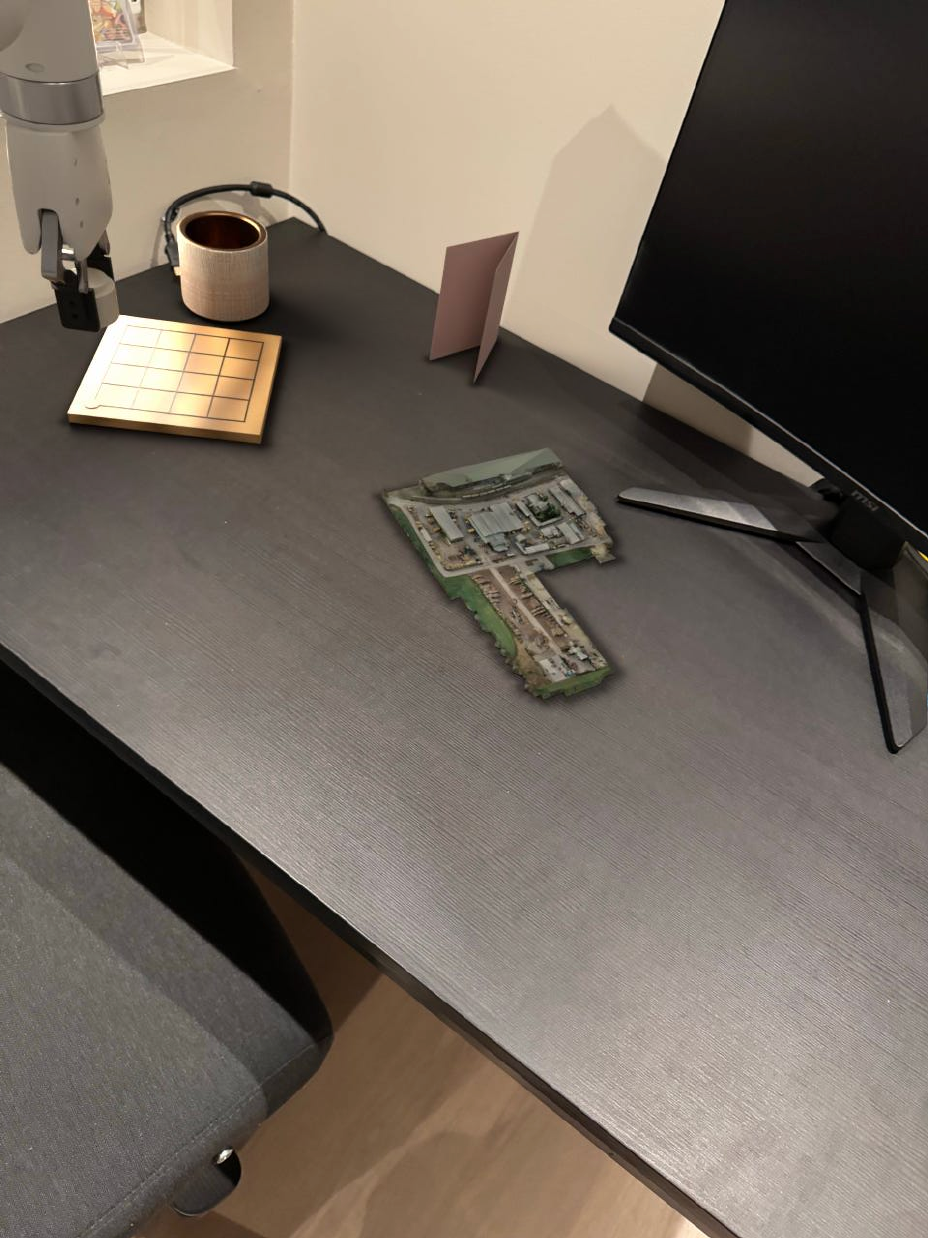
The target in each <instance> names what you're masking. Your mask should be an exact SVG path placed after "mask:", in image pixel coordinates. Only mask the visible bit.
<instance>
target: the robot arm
mask: <svg viewBox="0 0 928 1238" xmlns="http://www.w3.org/2000/svg"><path fill="white" fill-rule="evenodd" d="M98 60H99V59H98V53H97V47H96V40H95V33H94V27H93V20H92V12H91V5H90V0H0V116H1V117H2V118H3V119H4V120H5V121H6V122H5V127H4V128H5V141H6V152H7V163H8V169H9V179H10V183H11V189H12V196H13V200H14V201H13V202H14V205H15V211H16V217H17V223H18V227H19V231H20V237H21V242H22V245H23V248H24V250H25V251H26V253H28V255H31V256H32V255H37V254H38V253H39V252H40V274H41V277H42V278H43V279H45V280H47V281H49V282H50V287H51V289H52V290H53V291H54V296H55V301H56V306H57V309H58V314H59V319H60V324H61V326H62V327H63V328H64V329H68V330H75V331H82V332H88V333H89V332H91V333H98V332H99V331H100V329H101V328H100V321H99V315H98V310H97V304H96V299H95V293H94V288H89V283H88V271H87V267H89V268H95V269H98V270H100V271H102V272H104V273H105V274H106V275H107V276H109V277H110V278H111V279H112V280H113V281H114V283H115V284H116V280H115V273H114V267H113V262H112V257H111V256H110V254H111V243H110V240H109V236H108V233H107V228H108V226H109V223H110V221H111V219H112V216H113V212H114V203H113V194H112V193H113V192H112V184H111V178H110V171H109V165H108V160H107V154H106V149H105V145H104V139H103V135H102V130H101V126H100V125H102V123H104V121H105V120H106V109H105V103H104V96H103V88H102V82H101V75H100V68H99V61H98ZM64 246H68V248H69V249H73V250H67V249H64ZM40 250H41V251H40ZM63 261H66V262H73V265H74V268H76V271H77V275H76V274H75V273H74V272H73V271H72V270H70V269H68V268H66V267H65V266H64V263H63ZM115 289H116V290H117V287H116V285H115ZM116 295H117V296H118V292H117V291H116Z"/></svg>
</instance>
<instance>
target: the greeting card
mask: <svg viewBox="0 0 928 1238" xmlns="http://www.w3.org/2000/svg"><path fill="white" fill-rule="evenodd" d="M519 235H520V230H519V231H513V232H509V233H504V234H499V235H495V236H490V237H485V238H482V239H478V240H472V241H468V242H463V243H459V244H454V245H449V246H446V250H445V255H444V260H443V261H444V262H443V266H442V267H443V268H442V273H441V274H442V275H441V280H440V281H441V282H440V288H439V296H438V302H437V308H436V309H437V310H436V315H435V323H434V329H433V334H432V335H433V336H432V344H431V349H430V356H429V361H432V360H436V359H439V358H440V359H441V358H443V357H445V356H446V357H447V356H449V355H452V354H457V353H459V352H462V351H466V350H469V349H473V348H476V347H479V346H480V348H479V353H478V357H477V363H476V369H475V372H474V373H475V374H474V377H473V378H474V379H473V383H476V380H477V378H478V376H479V374H480V372H481V370H483V369H482V368H483V367H484V365H485V363H486V361H487V359H488V357H489V355H490V354H491V351H492V350H493V348H494V345H495V344H496V342H497V339H498V334H499V329H500V326H501V320H502V314H503V310H504V306H505V302H506V297H507V291H508V286H509V282H510V278H511V273H512V268H513V263H514V258H515V253H516V249H517V244H518V240H519Z"/></svg>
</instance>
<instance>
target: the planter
mask: <svg viewBox="0 0 928 1238" xmlns="http://www.w3.org/2000/svg"><path fill="white" fill-rule="evenodd" d="M268 237H269V236H268V231H267V229H266V227H265V226H264V225H263V224H262V223H261V222H260V221H258V220H257V219H254V218H253V217H250V216H248V215H245V214H242V213H238V212H235V211H229V210H217V209H216V210H215V209H214V210H212V209H211V210H201V211H196V212H192V213H190V214H187V215H186V216H183V217H182V218H181V219H180V220H179V221H178V223H177V225H176V238H177V248H178V261H179V274H180V275H179V277H180V289H181V297H182V301H183V304H184V305H185V306H186V308H188V310H190V311H191V312H192V313H194V314H196V315H197V316H199V317H201V318H204V319H206V320H209V321H213V322H218V323H230V324H232V323H234V324H235V323H243V322H246V321H250V320H252V319H256V318H257V317H259V316H260V315H262V314H263V313H264V312H265V311H266V310H267V308H268V306H269V303H270V280H269V243H268V241H269V239H268Z"/></svg>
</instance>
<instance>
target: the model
mask: <svg viewBox="0 0 928 1238" xmlns="http://www.w3.org/2000/svg"><path fill="white" fill-rule="evenodd" d="M563 466H564V463H563V461H562V460H561V459H560V458H559V456H557V455H556V454H555V453H554V451H553V450H552V449H551V448H550V447H545V448H540V449H537V450H532V451H527V452H522V453H517V454H514V455H509V456H505V457H502V458H501V457H500V458H496V459H493V460H492V459H491V460H488V461H483V462H479V463H475V464H471V465H465V466H461V467H457V468H453V469H448V470H444V471H440V472H436V473H431V474H427V475H422V476H419V477H413V478H412V480H418V485H415V486H410V487H406V488H401V489H397V490H392V491H389V492H387V490H386V488H383V491H382V493H381V498H382V500H383V501H384V503H385V505H386V506H387V507H388V509H389V510H390V512H391V513H392V515H393V516H394V518H395V519H396V521H397V522H398V523H399V525H400V527H401V528H402V530H403V531H404V533H405V534H406V535H407V537H408V539H409V540H410V542H411V543H412V544H413V546H414V548H415V549H416V551H417V552H418V554H419V555H420V557H421V558H422V560H423V561H424V562H425V565H427V567H428V569H429V570H430V571H431V573H432V574H433V576H434V578H435V579H436V581H437V582H438V583H439V585H440V586H441V588H442V589H443V591H444V592H445V594H446V596H447V597H448V598H449V599H450V600H456V599H459V598H460V599H461V600H462V602H463V603H464V605H465V606H466V608H467V609H468V610H469V611H471V612H472V613H475V612H476V614H475V615H474V616H473V618H474V619H475V621H476V622H477V624H478V625H479V627H480V628H481V630H483V631H484V632H486V633H490V634H491V635H492V637H493V638H494V644H493V647H495V648H498V649H500V652H499V656H503V657H506V660H505V664H507V665H509V666H512V668H511V673H514V674H516V675H519V676H522V680H524V682H525V684H524V688H523V691H525V692H529V693H532V695H533V697H534V698H537V697H540V698H541V699H542V700H543V701H545V700H547V699H550V698H552V697H555V696H558V695H561V694H563V695H564V696H565V697H566V698H568V697H570V696H572V695H575V694H578V693H580V692H584V691H586V690H588V689H591V688H594V687H596V686H598V685H600V684H601V682H602V681H604V679H605V678H606V677H608V676H610V675H613V674H615V673H616V672H615V670H614V669H613V668H612V667H611V665H610V664H609V662H608V661H607V660H606V658H605V657H604V655H602V654H601V653H600V651H599V649H598V648H597V647H596V646H595V644H594V643H593V642H592V641H591V639H590V638H589V636H588V635H587V634H586V632H585V631H584V629H582V627H581V626H580V625H579V623H578V622H577V621H576V619H575V618H574V617H573V615H572V614H571V613H570V611H568V609H567V608H566V607H564V608H561V607H560V606H559V605H558V603H557V601H555V599H554V598H553V596H552V595H551V594H550V593H549V592H548V590H547V589H546V588H545V586H544V585H543V583H542V582H541V581H540V579H539V578H538V577H537V575H536V573H538V572H540V571H544V570H546V571H550V570H554V569H557V568H560V567H564V566H568V565H570V564H574V563H577V562H580V561H584V560H586V561H589V560H590V559H591V558H595V559H596V560H597V561H598V563H599V564H602V563H606V562H610V561H612V560H616V559H617V557H616V556H614V555H613V554H611V553H610V552H611V550H610V549H609V548H612V547H613V544H614V542H613V540H612V538H611V536H610V535H608V534H607V532H606V530H605V529H606V527H607V524H606V522H605V521H604V520H603V519H602V517H603V515H599V513H598V508H597V507H596V505H594V503H593V502H592V501H591V500H589V497H588V496H587V495H586V494H585V493H584V491H583V490H582V489H581V488H580V487H579V486H578V485H577V484H576V483H575V481H574V480H573V479H572V478H571V477H570V475H569V474H568V473H567V472H566V471H565V470H564V469H563Z"/></svg>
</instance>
